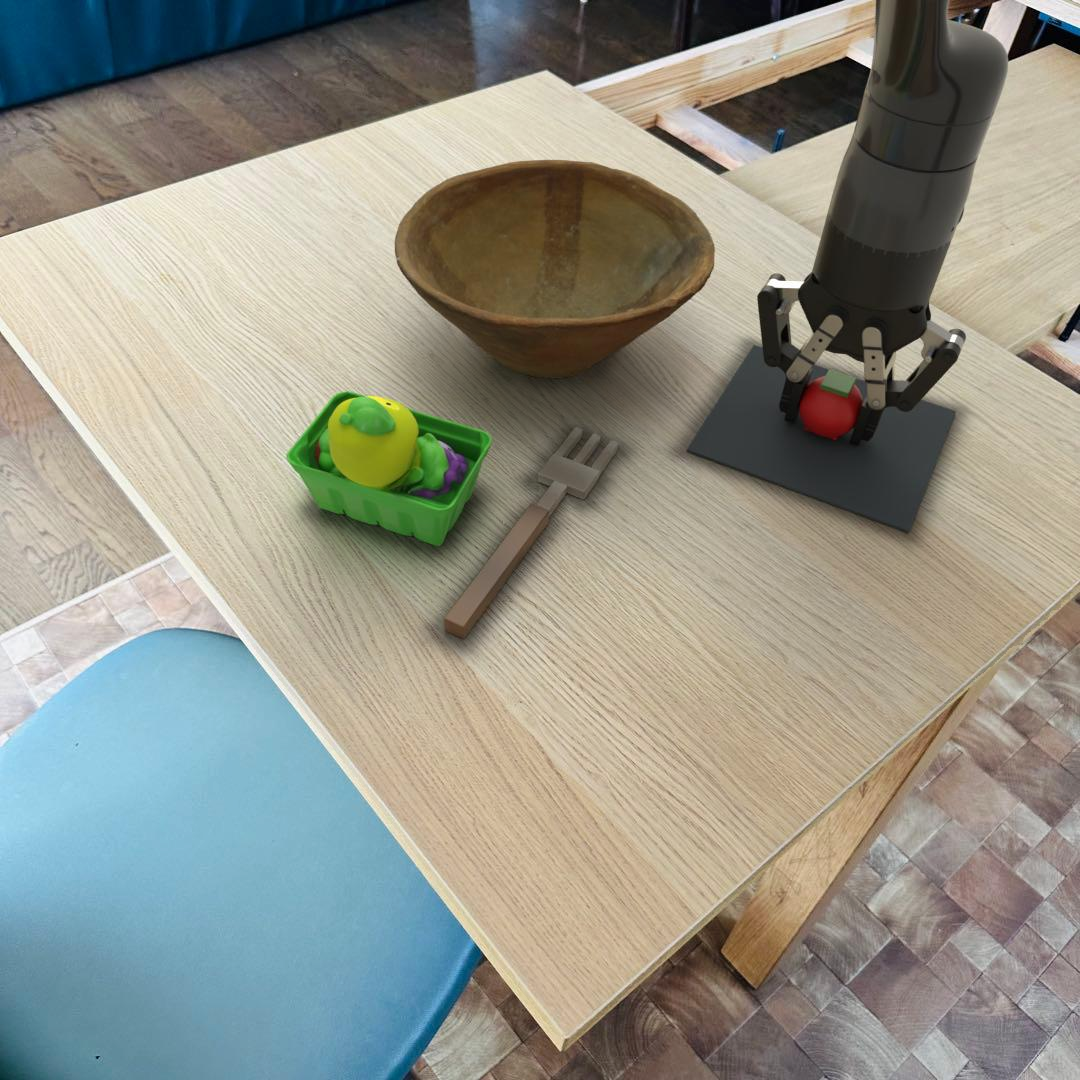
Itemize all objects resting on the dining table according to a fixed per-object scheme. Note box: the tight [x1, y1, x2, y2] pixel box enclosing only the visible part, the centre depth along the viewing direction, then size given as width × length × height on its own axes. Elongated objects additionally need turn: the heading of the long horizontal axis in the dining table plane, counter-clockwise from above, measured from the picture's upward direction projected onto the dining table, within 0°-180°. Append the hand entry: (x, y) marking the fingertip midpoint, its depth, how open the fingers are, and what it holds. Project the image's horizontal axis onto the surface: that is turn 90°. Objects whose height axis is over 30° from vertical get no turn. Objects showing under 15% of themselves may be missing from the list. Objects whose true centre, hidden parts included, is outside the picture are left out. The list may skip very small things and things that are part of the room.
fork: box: [443, 426, 619, 640], centre depth 67 cm, size 20×4×1 cm, turn 152°
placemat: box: [686, 344, 957, 534], centre depth 75 cm, size 16×14×1 cm
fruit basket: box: [285, 391, 493, 547], centre depth 64 cm, size 11×9×11 cm
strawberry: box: [799, 368, 863, 440], centre depth 73 cm, size 4×4×4 cm
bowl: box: [394, 159, 716, 379], centre depth 77 cm, size 22×23×10 cm
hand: (825, 426), depth 75 cm, fingers closed on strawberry, 4 cm apart
